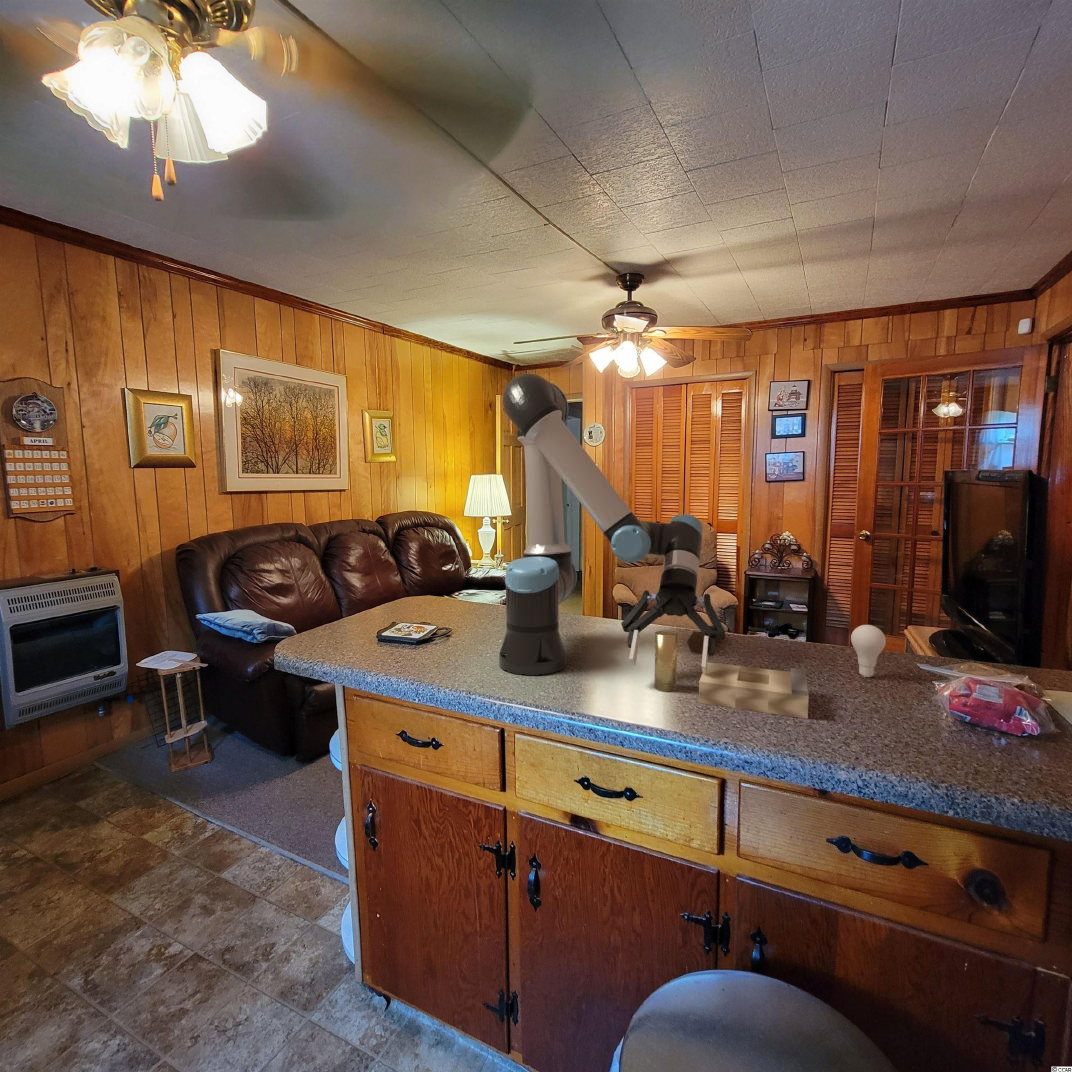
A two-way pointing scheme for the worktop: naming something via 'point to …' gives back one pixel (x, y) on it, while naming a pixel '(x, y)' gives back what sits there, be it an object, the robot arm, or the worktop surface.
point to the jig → (755, 689)
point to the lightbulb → (867, 647)
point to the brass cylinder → (665, 661)
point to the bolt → (697, 641)
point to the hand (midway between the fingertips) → (667, 666)
